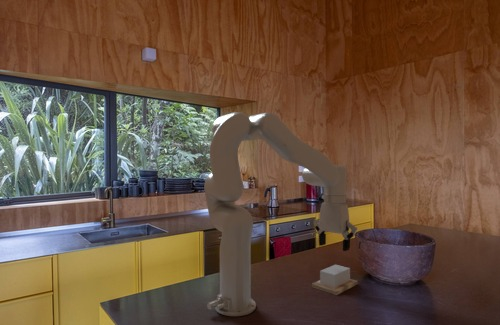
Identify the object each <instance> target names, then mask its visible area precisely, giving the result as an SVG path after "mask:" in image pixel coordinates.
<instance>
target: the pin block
mask: <svg viewBox="0 0 500 325" xmlns="http://www.w3.org/2000/svg"><path fill="white" fill-rule="evenodd" d="M358 283H359V282H358V280H356V279H351V278H350V281H348V282H346V283H344V284H342V285H340V286H338V287H336V288H333V287H330V286H327V285H324V284H320V279H319V280H317V281H315V282H312V283H311V288H314V289H315V290H316V289H317V290H320V291H323V292H326V293H329V294H331V295H335V296H338V295H340V294H341V293H344V292H345V291H347V290H349V289H351V288H353V287H355V286H357V285H358Z"/></svg>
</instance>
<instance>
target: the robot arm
mask: <svg viewBox="0 0 500 325" xmlns="http://www.w3.org/2000/svg"><path fill="white" fill-rule="evenodd" d="M212 132H213V136H212V138H211V141H210V145H209V161H210V169H211V172H210V173H209V174H208V175H207V176H206V178H205V181H204V190H203V191H204V195H205V196H204V197H205V201H206V206H207V210H208V216H209V219H210V222H211V225H212V226H213V227H214V228H215V229H216V230H217V231H219V232H220V233H221V239H220V244H219V294H217V295H216V296H217V298H216V299H215V300H212V301H210V302H208V303H206V307H207V309H208V310H213V309H215V311H216V312H217V313H218V314H220V315H223V316H227V317H242V316H246V315H250V314H251V313H252V312H254V311H255V310H256V307H257V304H256V301H255V300H254V299H253V298H252V296H251V295H252V294H251V293H252V292H251V288H252V286H251V279H252V278H251V276H252V275H251V272H252V271H251V270H252V269H251V268H252V266H251V261H252V259H251V258H252V257H251V255H252V254H251V253H252V252H251V251H252V250H251V248H252V247H251V245H252V235H253V229H254V220H253V217H252V215H251V214H252V213H250V212H249V211H248V209H246V208H245V207H243V206H240V205H237V204H235V202H237V201H238V200H240V199H241V197H242V196H243V192H244V185H243V180H242V179H243V178H242V174H241V169H240V162H239V149H240V146H241V143H242V141H243V142H244V141H245V142H246V141H255V140H263V141H264V143H266V144H267V145H268V146H269V147H270V148H271V149H272V150H273V151H274V152H275V153H276V154H277V155H278V156H279V157H280V158H281V159H283V160H285V161H287V162H289V163H291V164H295V165H297V166H300V167H302V168H303V170H302V172H301V178H302V180H303V181H304V183H306V184H307V185H310V186H313V187H314V186H315V187H320V188H321V187H322V188H324V189H323V190H324V193H323V195H321V199H323V202H322V203H321V206H320V209H319V210H320V212H319V217H318V219H315V220H313V225H314V227H315V231H317V234H318V243H319V244H318V245H319V246H325V245H326V243H327V242H326V240H327V235H326V232H329V233H334V234H337V235H338V234H339V235H341V236H342V237H343V240H342V251H343V252H346V251H349V250H350V247H351V239H352V238H353V237H354V236H355V235H356V233H357V231H358V227H356V226H355V225H354V224H352V223H351V222H350V212H349V207H348V204H346V202H347V168H346V167H345V165H340V164H335V163H333V161H332V160H330V158H329V157H328V156H326V155H325V154H324V153H322V152H321V151H320V150H318V149H316V148H315V147H313V146H311V145H310V144H309V143H306V142H304V141H303V140H301V139H300V138H299V137H298V136H297V135H296V134H295V133H294V132H293V131H292V130H291V129H290V128H289V127H288V126H287V125H286V124H285V123H284V122H283V121H282V120H281V119H280V118H279V117H278V116H277V115H276V114H275V113H272V112H262V113H261V112H260V113H258V114H257V113H256V114H252V115H247V114H246V113H244V112H240V111H235V112H230V113H228V114H223V115H219V116H218V117H217V118H216V119H215V120H214V122H213V123H212ZM349 230H350V232H349Z"/></svg>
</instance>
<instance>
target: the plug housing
mask: <svg viewBox="0 0 500 325" xmlns="http://www.w3.org/2000/svg"><path fill="white" fill-rule="evenodd" d="M350 279H351V267H346V266H342V265H339V264H333V265H330V266H329V267H326V268H324V269H321V270H319V280H320V284H324V285H327V286H330V287H333V288H336V287H338V286H340V285H342V284H344V283H346V282H348V281H350Z"/></svg>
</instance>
